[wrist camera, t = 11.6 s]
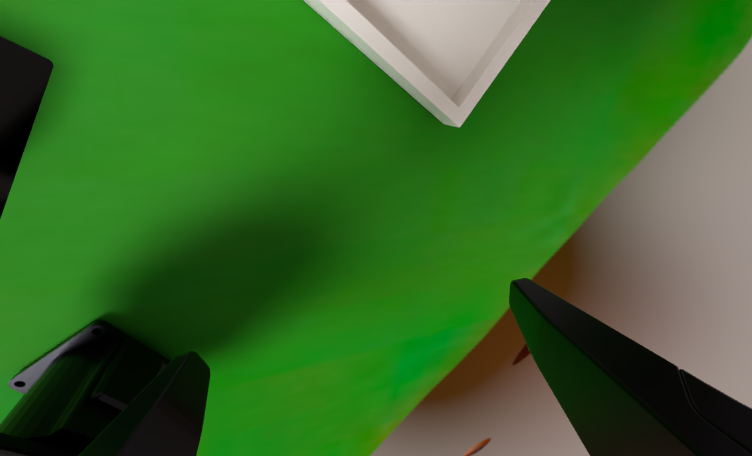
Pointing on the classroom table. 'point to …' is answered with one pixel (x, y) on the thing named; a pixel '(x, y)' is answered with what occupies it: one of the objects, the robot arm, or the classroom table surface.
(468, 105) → the white rectangular tray
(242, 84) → the classroom table surface
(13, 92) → the black holed block
